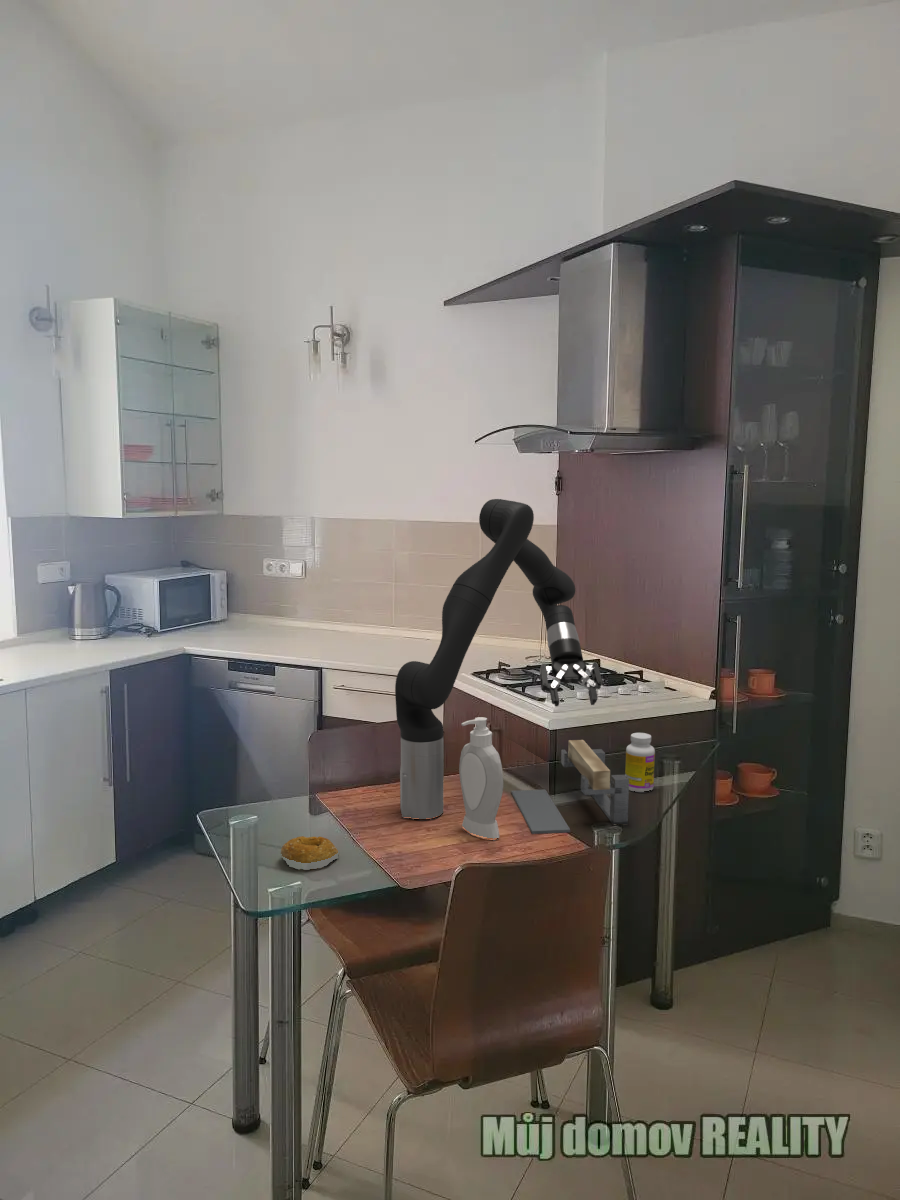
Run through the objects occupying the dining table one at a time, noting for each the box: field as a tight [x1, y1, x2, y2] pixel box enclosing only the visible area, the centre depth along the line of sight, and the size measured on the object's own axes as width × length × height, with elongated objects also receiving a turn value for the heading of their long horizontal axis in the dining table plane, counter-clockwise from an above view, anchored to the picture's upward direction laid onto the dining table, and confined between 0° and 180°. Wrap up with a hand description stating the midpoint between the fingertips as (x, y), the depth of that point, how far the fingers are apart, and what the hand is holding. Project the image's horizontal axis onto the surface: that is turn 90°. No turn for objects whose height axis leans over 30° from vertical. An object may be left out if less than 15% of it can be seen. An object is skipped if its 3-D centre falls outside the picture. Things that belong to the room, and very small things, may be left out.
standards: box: [560, 748, 630, 825], centre depth 202 cm, size 10×21×10 cm, turn 6°
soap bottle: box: [458, 716, 504, 839], centre depth 186 cm, size 13×8×24 cm, turn 41°
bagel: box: [280, 835, 339, 863], centre depth 175 cm, size 10×11×5 cm
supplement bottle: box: [624, 732, 656, 793], centre depth 214 cm, size 7×7×13 cm
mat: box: [510, 788, 571, 835], centre depth 201 cm, size 8×24×1 cm, turn 6°
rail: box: [567, 739, 611, 790], centre depth 201 cm, size 4×22×4 cm, turn 6°
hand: (575, 704), depth 212 cm, fingers open, 8 cm apart
